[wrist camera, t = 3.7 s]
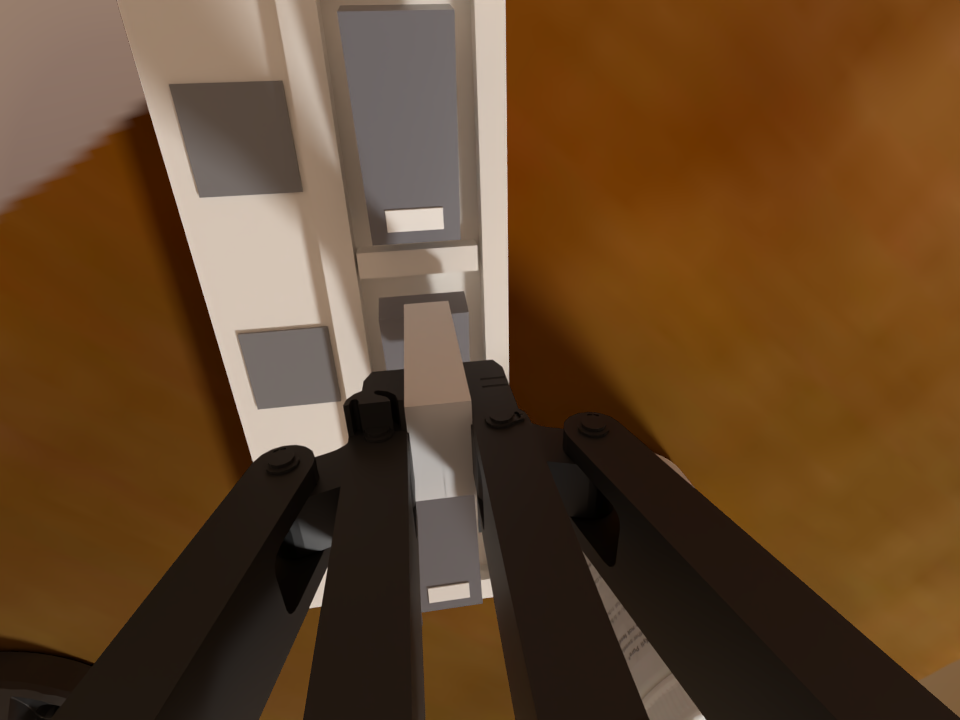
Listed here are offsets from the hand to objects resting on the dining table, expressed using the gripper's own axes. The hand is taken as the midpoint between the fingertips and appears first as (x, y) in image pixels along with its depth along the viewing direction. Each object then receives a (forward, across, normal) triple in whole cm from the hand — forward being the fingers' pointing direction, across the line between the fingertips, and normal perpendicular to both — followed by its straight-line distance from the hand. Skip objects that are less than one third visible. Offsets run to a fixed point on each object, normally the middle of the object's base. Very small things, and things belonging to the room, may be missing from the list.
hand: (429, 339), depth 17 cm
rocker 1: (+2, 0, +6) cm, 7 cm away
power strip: (+8, -3, -6) cm, 10 cm away
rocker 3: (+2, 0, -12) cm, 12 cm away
